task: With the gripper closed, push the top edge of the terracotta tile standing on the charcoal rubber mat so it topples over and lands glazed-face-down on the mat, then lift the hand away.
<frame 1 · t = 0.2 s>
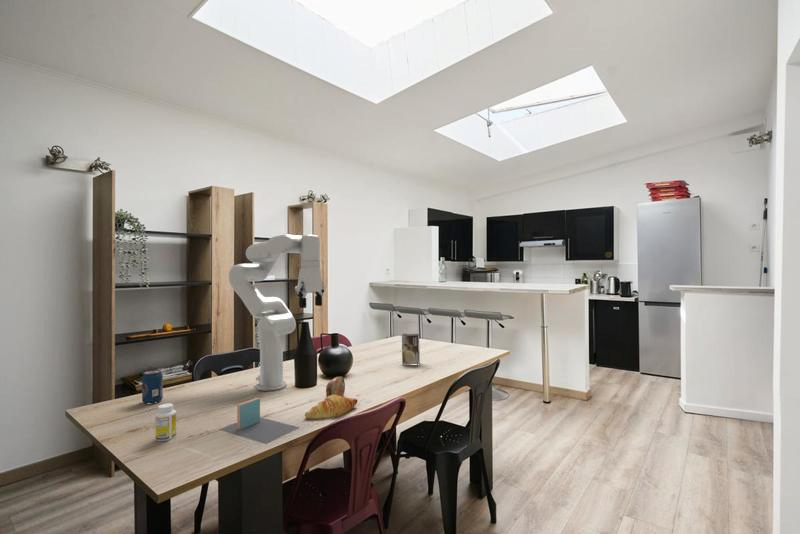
hand: (310, 306, 166), 37 cm above the table, tool pointing down, fingers open, 9 cm apart
tin: (335, 400, 161), on the table
tile: (249, 425, 135), resting on mat
supplement bottle: (166, 439, 126), on the table
mat: (259, 429, 132), on the table
coffee box: (411, 364, 219), on the table
soda can: (152, 402, 160), on the table
croissant: (331, 414, 146), on the table
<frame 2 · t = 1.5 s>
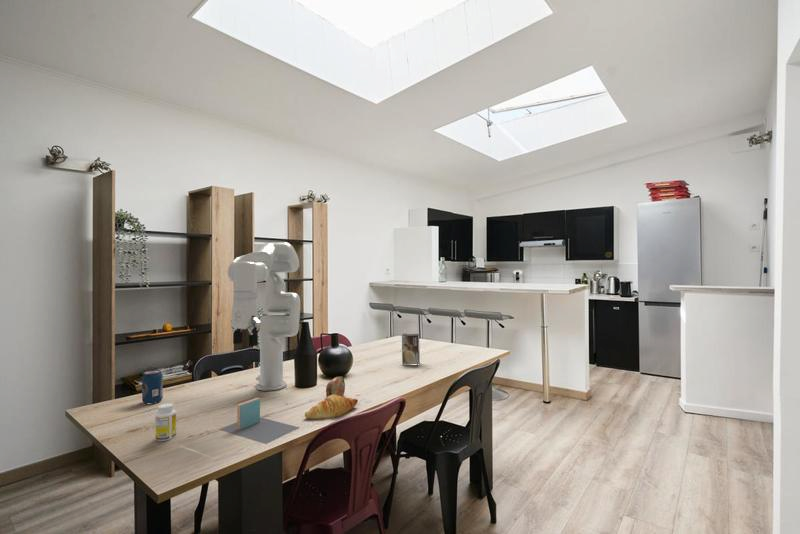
hand: (245, 344, 144), 25 cm above the table, tool pointing down, fingers open, 9 cm apart
nothing on the table moved.
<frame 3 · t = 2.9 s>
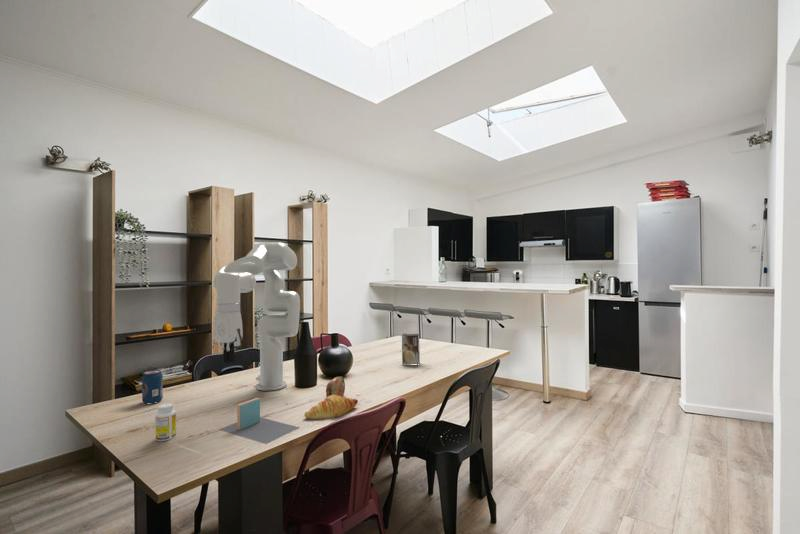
hand: (228, 361, 139), 20 cm above the table, tool pointing down, fingers closed
nothing on the table moved.
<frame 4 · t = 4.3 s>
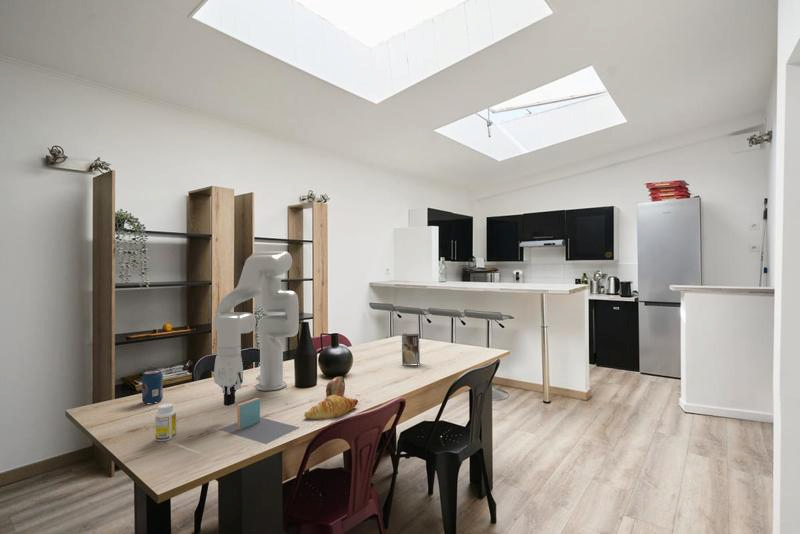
hand: (229, 404, 140), 6 cm above the table, tool pointing down, fingers closed
nothing on the table moved.
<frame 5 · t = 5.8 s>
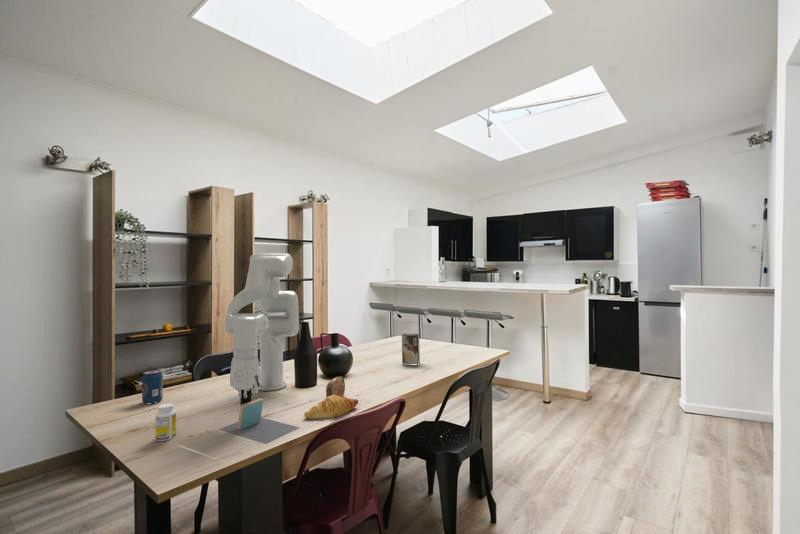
hand: (246, 408, 135), 6 cm above the table, tool pointing down, fingers closed
tile: (249, 425, 135), resting on mat, tilted 12°
everything else where it was.
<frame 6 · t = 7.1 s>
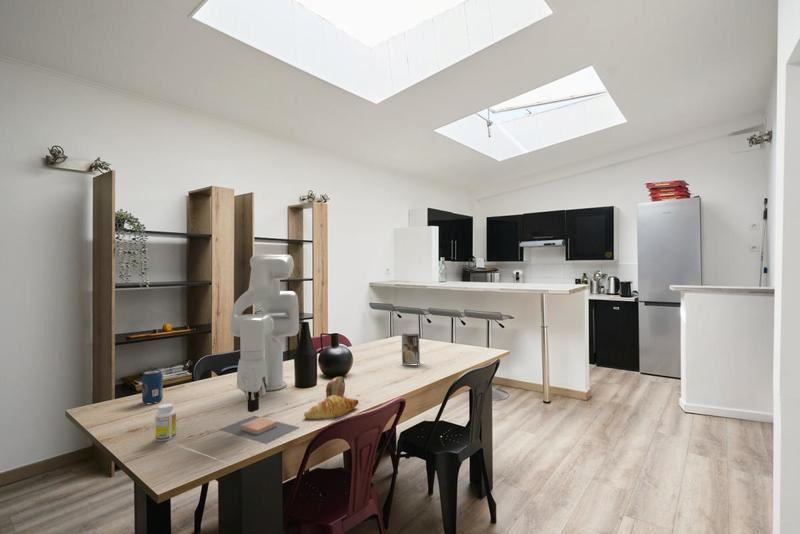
hand: (253, 410, 134), 6 cm above the table, tool pointing down, fingers closed
tile: (250, 423, 134), point 1 cm above the table, tilted 90°, touching mat
everything else where it was.
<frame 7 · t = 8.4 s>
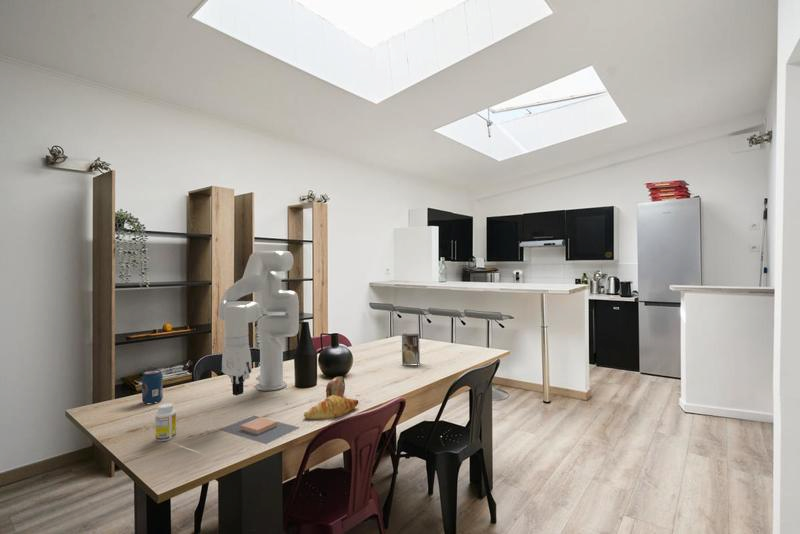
hand: (238, 393, 139), 10 cm above the table, tool pointing down, fingers closed
nothing on the table moved.
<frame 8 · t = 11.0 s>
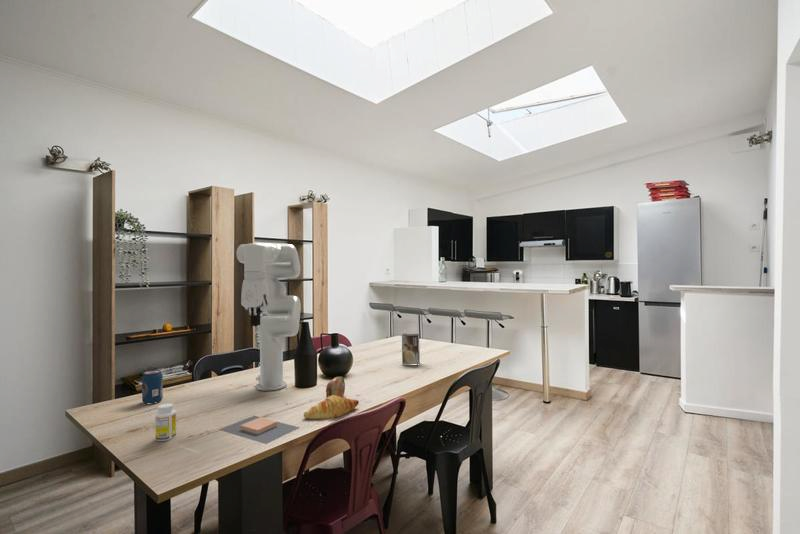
hand: (255, 325, 152), 31 cm above the table, tool pointing down, fingers closed
nothing on the table moved.
at the end: tile tilted 90°; tile inside the target area on the mat (4.2 cm from its centre), point 1.1 cm above the mat's base; the gripper is holding nothing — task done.
